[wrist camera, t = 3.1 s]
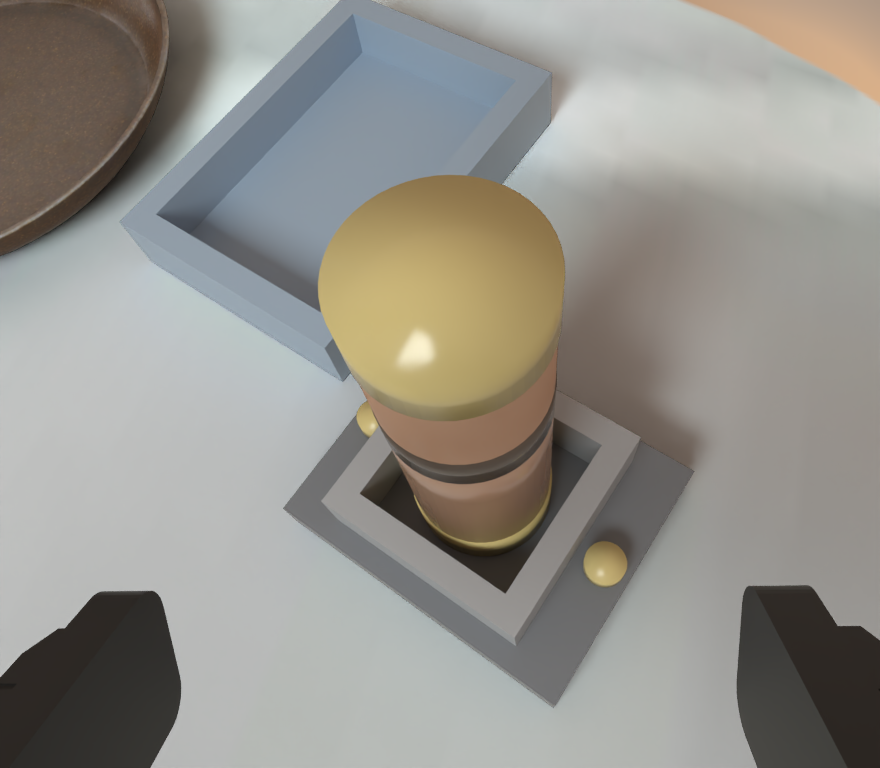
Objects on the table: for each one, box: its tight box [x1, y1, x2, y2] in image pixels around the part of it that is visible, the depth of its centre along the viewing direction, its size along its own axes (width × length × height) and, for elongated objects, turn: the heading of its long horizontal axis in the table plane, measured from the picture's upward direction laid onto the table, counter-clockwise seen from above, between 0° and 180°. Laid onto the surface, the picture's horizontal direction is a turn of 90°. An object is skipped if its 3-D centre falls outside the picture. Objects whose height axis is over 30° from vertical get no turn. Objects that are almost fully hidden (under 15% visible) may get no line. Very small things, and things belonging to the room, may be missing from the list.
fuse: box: [318, 175, 565, 556], centre depth 18 cm, size 4×4×12 cm
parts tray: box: [120, 0, 552, 382], centre depth 29 cm, size 10×14×3 cm
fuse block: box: [283, 390, 694, 708], centre depth 23 cm, size 10×8×4 cm
